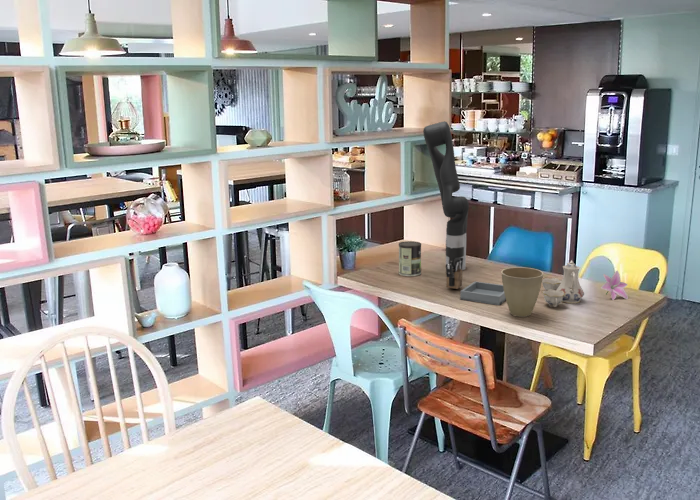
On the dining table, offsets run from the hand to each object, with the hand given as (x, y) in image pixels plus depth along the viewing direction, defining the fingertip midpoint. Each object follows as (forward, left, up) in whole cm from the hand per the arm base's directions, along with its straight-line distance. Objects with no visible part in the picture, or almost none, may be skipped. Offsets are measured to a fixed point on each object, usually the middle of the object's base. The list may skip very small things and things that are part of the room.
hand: (454, 284), depth 276 cm
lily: (-20, +60, -2) cm, 63 cm away
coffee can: (-14, -27, -2) cm, 31 cm away
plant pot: (+18, +34, -2) cm, 38 cm away
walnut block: (0, 0, -1) cm, 1 cm away
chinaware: (-7, +42, -2) cm, 43 cm away
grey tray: (+4, +16, -2) cm, 16 cm away
